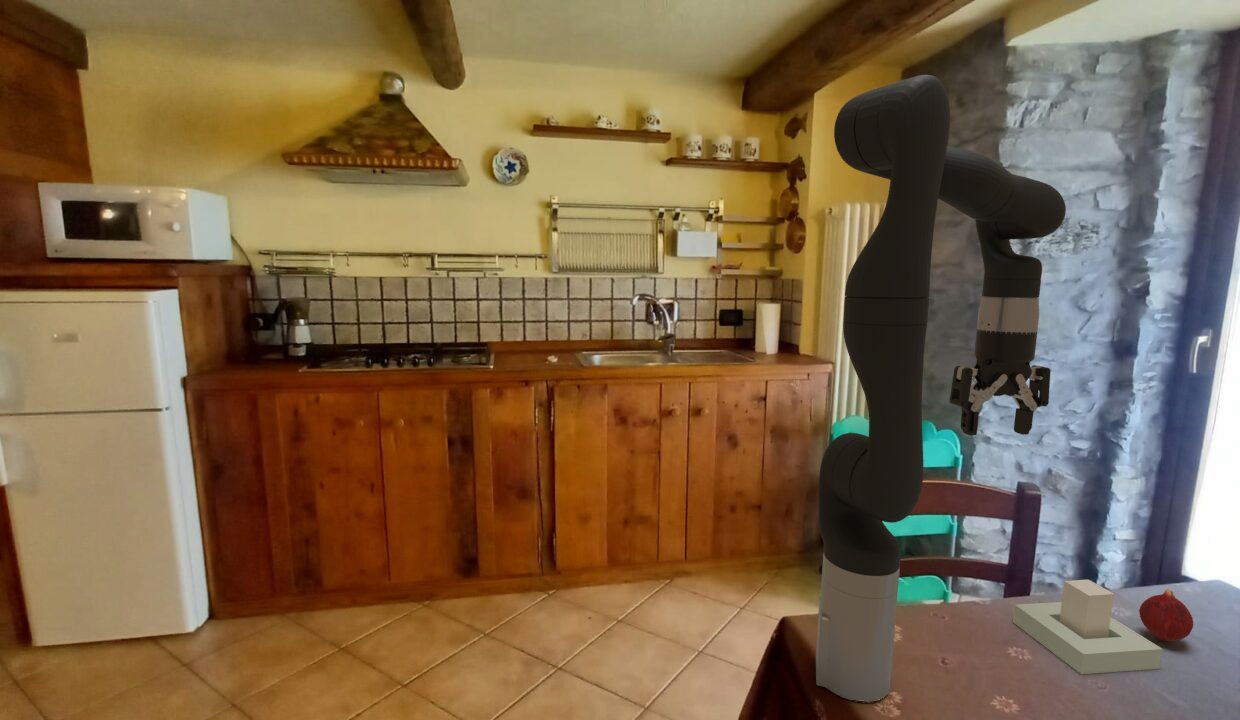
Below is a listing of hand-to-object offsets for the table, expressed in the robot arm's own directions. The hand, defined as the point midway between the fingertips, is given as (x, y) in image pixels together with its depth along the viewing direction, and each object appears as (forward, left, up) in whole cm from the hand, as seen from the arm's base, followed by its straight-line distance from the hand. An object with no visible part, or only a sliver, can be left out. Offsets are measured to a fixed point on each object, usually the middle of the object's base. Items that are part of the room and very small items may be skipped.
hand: (995, 433), depth 88 cm
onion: (+25, +2, -30) cm, 39 cm away
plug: (+13, -3, -30) cm, 33 cm away
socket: (+13, -3, -30) cm, 33 cm away
